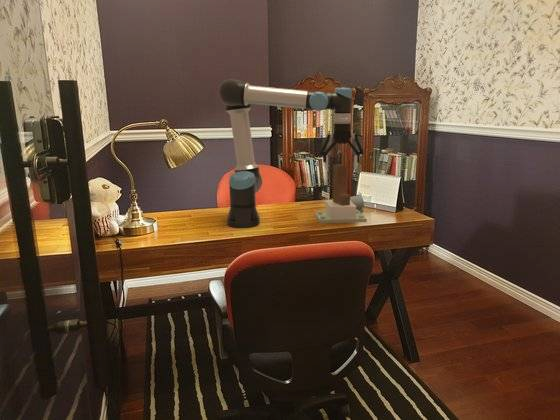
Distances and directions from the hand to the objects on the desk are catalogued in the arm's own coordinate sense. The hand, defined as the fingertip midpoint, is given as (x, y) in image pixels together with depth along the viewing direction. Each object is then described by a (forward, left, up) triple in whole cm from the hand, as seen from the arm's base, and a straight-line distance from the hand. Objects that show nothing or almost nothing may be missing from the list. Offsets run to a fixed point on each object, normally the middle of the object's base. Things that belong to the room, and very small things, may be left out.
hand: (340, 169), depth 207 cm
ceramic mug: (+11, +14, -24) cm, 30 cm away
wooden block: (+1, 0, -16) cm, 16 cm away
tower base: (0, 0, -24) cm, 24 cm away
